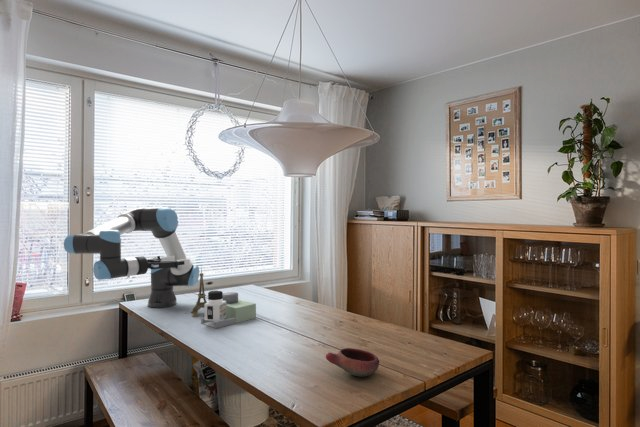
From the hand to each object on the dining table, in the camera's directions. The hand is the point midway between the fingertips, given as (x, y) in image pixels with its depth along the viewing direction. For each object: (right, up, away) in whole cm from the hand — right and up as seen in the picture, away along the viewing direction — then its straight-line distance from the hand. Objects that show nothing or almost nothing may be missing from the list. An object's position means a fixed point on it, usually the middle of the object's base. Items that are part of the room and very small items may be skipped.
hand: (181, 260), depth 188 cm
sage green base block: (+16, -30, +13) cm, 37 cm away
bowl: (+74, -31, -55) cm, 98 cm away
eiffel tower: (+2, -30, +24) cm, 39 cm away
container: (+14, -28, +5) cm, 32 cm away
